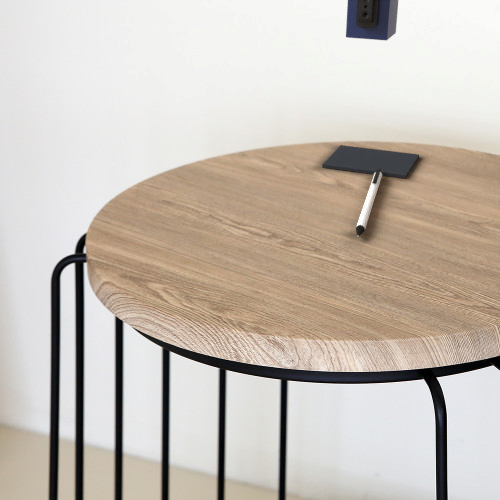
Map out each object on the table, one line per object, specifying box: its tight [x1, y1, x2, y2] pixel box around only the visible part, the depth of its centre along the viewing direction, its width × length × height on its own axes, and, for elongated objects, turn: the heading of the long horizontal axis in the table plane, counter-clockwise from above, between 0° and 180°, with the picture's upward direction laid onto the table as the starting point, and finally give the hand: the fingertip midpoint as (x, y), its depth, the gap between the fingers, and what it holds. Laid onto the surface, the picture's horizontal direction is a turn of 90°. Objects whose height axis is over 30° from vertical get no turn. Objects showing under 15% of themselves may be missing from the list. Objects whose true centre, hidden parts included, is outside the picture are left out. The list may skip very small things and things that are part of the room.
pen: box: [355, 169, 383, 238], centre depth 84 cm, size 1×19×1 cm, turn 166°
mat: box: [321, 144, 420, 179], centre depth 97 cm, size 10×8×1 cm
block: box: [345, 0, 399, 41], centre depth 85 cm, size 4×4×6 cm
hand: (372, 22), depth 86 cm, fingers closed on block, 4 cm apart
